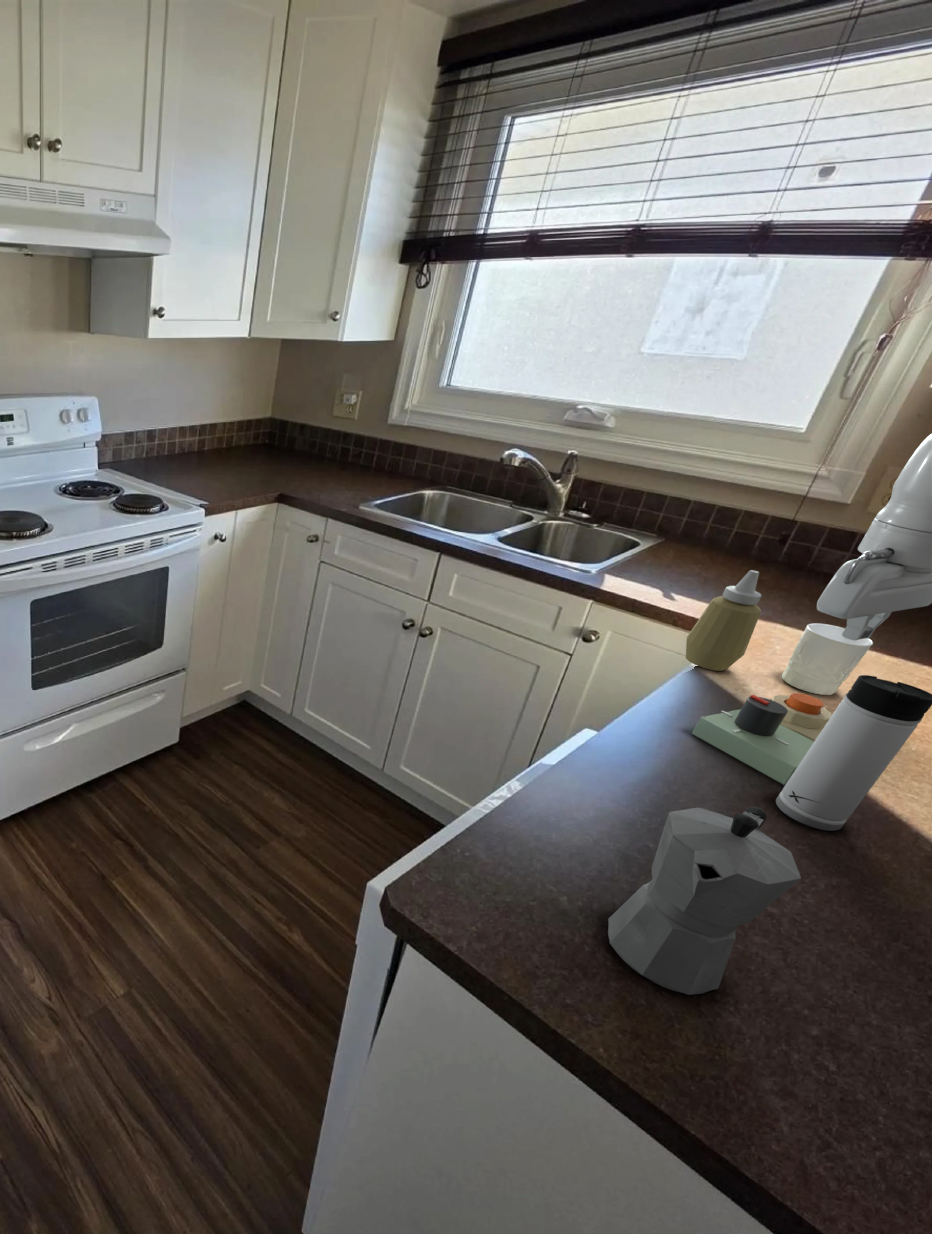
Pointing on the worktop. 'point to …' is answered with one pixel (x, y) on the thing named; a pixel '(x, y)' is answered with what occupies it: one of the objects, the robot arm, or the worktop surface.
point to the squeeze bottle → (725, 626)
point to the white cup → (824, 659)
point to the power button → (804, 703)
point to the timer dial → (760, 716)
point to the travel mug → (852, 751)
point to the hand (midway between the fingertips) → (854, 637)
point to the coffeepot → (700, 897)
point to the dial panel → (755, 745)
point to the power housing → (803, 719)
